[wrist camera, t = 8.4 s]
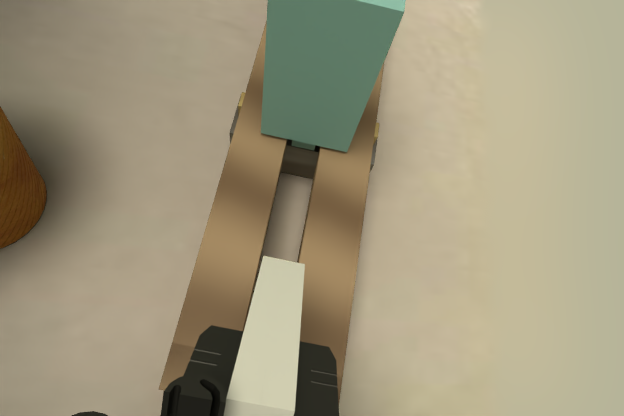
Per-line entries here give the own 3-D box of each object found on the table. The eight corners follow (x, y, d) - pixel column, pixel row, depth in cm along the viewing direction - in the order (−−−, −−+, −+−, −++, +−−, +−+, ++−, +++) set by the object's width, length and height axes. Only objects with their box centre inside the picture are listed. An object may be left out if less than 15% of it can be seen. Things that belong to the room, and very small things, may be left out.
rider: (342, 164, 26) (424, -38, 14) (259, 146, 26) (272, -76, 14) (352, 97, 28) (432, -128, 16) (276, 80, 28) (300, -163, 16)
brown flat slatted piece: (328, 419, 24) (347, 424, 20) (166, 389, 24) (147, 387, 19) (385, 9, 38) (404, -45, 33) (282, -16, 37) (287, -74, 32)
